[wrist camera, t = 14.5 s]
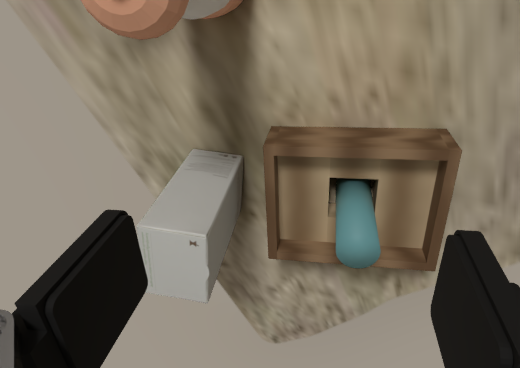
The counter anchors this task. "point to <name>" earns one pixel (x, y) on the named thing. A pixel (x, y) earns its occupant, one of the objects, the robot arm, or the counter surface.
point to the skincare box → (192, 225)
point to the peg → (356, 224)
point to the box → (359, 167)
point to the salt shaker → (153, 14)
